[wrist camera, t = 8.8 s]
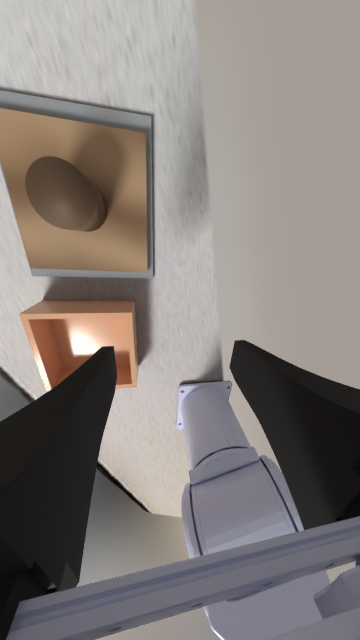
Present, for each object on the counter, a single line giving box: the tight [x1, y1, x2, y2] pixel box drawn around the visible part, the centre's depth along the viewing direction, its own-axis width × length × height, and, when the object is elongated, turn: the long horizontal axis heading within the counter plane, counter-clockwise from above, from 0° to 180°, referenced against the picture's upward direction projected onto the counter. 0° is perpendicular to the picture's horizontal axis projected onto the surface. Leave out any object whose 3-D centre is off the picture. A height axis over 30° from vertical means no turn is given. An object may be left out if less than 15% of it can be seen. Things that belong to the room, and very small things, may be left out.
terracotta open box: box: [19, 300, 138, 392], centre depth 19 cm, size 9×9×4 cm
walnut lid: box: [0, 108, 148, 273], centre depth 13 cm, size 10×10×5 cm
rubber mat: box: [0, 90, 153, 278], centre depth 15 cm, size 12×11×1 cm
